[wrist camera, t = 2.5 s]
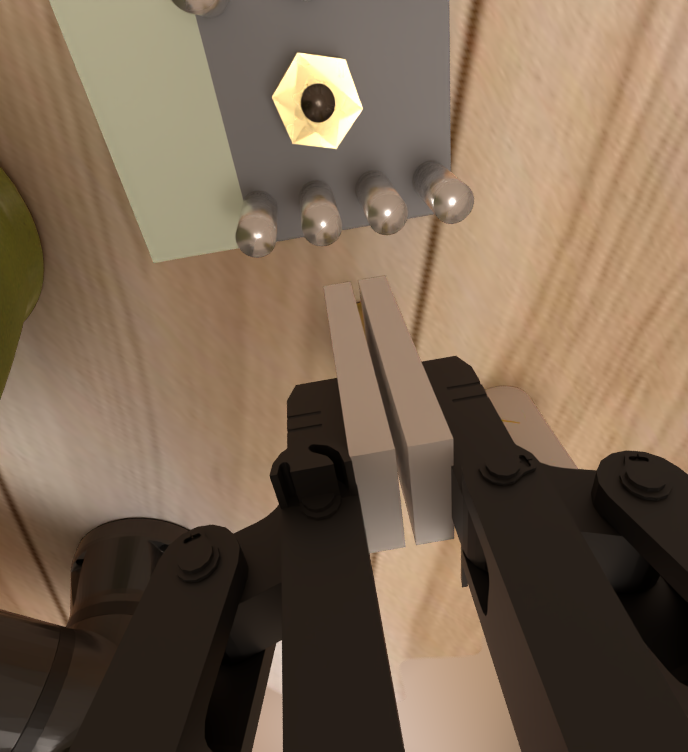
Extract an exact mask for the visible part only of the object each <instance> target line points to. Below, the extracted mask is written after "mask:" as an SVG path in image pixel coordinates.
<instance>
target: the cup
mask: <svg viewBox="0 0 688 752" xmlns="http://www.w3.org/2000/svg"><path fill="white" fill-rule="evenodd" d="M485 391H486V393H487V397H489V398H490V400H491V402H492V404H493V406H494V407H495V409H496V411H497V413H498V414H499V416H500V418H501V420H502V422H503V423H504V425H505V427H506V429H507V430H508V432H509V434H510V436H511V438H512V439H513V441H514V443H515V444H516V445H518V446H520V447H522V448H524V449H526V450H527V451H529V452H531V453H532V454H533V455H534V456H535V457H536V458H537V459H538V460H539V462H541V463H544V464H547V465H550V466H555V467H561V468H571V469H578V468H577V466H576V465H575V463H574V462H573V460H572V459H571V457H570V456H569V454H568V453H567V451H566V450H565V448H564V447H563V445H562V444H561V443H560V441H559V440H558V438H557V437H556V435H555V434H554V432H553V431H552V429H551V428H550V426H549V425H548V423H547V422H546V420H545V419H544V417H543V416H542V414H541V413H540V411H539V410H538V408H537V407H536V406H535V404H534V403H533V401H532V400H531V398H530V397H529V395H528V394H527V393H526V392H524V391H523V390H521V389H519V388H516V387H512V386H498V387H493V388H489V389H486V390H485Z"/></svg>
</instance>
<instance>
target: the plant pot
mask: <svg viewBox="0 0 688 752" xmlns="http://www.w3.org/2000/svg"><path fill="white" fill-rule="evenodd" d="M43 273H44V266H43V252H42V248H41V244H40V239H39V235H38V232H37V229H36V226H35V224H34V221H33V219H32V216H31V214H30V212H29V210H28V208H27V206H26V204H25V202H24V201H23V199H22V197H21V196H20V194H19V192H18V190H17V189H16V187H15V185H14V184H13V183H12V181H11V180H10V179H9V177H8V176H7V175H6V174H5V172H4V171H3V170H2V169H1V167H0V399H1V396H2V393H3V390H4V387H5V384H6V381H7V378H8V375H9V372H10V369H11V366H12V363H13V360H14V356H15V353H16V349H17V345H18V342H19V338H20V334H21V330H22V326H23V322H24V321H25V320H26V319H27V317H28V316H29V315H30V313H31V312H32V310H33V309H34V307H35V305H36V303H37V301H38V298H39V296H40V293H41V289H42V284H43Z"/></svg>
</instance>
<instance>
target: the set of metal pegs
mask: <svg viewBox="0 0 688 752" xmlns="http://www.w3.org/2000/svg"><path fill="white" fill-rule="evenodd" d="M171 1H172V2H173V3H174V4H175V5H176V6H177V7H178V8H180V9H181V10H183V11H185V12H187V13H191V14H196V15H200V16H205V17H217V16H219V15H221V14H222V13H223V12H224V11H225V9H226V8H227V6H228V3H229V0H171ZM304 1H310V0H304ZM413 187H414V189H415V191H416V192H417V193H418V194H419V196H420V197H421V198H422V199H423V200H424V202H425V203H426V204H427V205H428V206H429V208H430V209H431V210H432V211H433V212H434V214H435V215H436V216H437V217H438V218H439V219H440V220H441V221H442V222H444V223H448V224H454V223H458V222H460V221H462V220H464V219H465V218H466V217H467V216H468V215H469V213H470V212H471V210H472V208H473V204H474V196H473V193H472V191H471V189H470V188H469V187H468V186H467V185H466V184H465V183H463V182H462V181H461V180H460V179H458V178H457V177H456V176H455V175H454V174H452V173H451V172H450V171H449V170H448V169H446V168H445V167H444V166H443V165H442V164H440V163H439V162H437V161H426V162H424V163H422V164H421V165H420V166H419V167H418V168H417V169H416V171H415V172H414V175H413ZM356 194H357V197H358V199H359V201H360V204H361V206H362V208H363V210H364V213H365V215H366V217H367V219H368V222H369V224H370V226H371V227H372V229H373V230H374V231H375V232H377V233H379V234H382V235H391V234H394V233H396V232H398V231H399V230H400V229H401V228H402V227H403V226H404V225H405V223H406V221H407V217H408V209H407V206H406V204H405V202H404V201H403V199H402V198H401V196H400V195H399V194H398V192H397V191H396V189H395V188H394V187H393V185H392V184H391V182H390V181H389V180H388V178H387V177H386V176H385V175H384V174H383V173H381V172H379V171H369V172H367V173H365V174H363V175H362V176H361V177H360V179H359V180H358V182H357V185H356ZM299 201H300V212H301V224H302V231H303V234H304V236H305V238H306V239H307V240H308V241H309V242H310V243H312V244H314V245H316V246H327V245H330V244H332V243H334V242H335V241H336V240H337V239H338V237H339V236H340V234H341V231H342V222H341V218H340V215H339V212H338V208H337V205H336V202H335V198H334V195H333V192H332V190H331V188H330V187H329V186H328V185H327V184H326V183H324V182H321V181H312V182H309V183H307V184H306V185H305V186H304V187H303V188H302V190H301V192H300V196H299ZM277 211H278V210H277V204H276V201H275V200H274V198H273V197H272V196H271V195H270V194H268V193H266V192H264V191H254V192H252V193H250V194H248V195H247V196H246V198H245V199H244V202H243V206H242V210H241V214H240V218H239V222H238V226H237V230H236V235H235V238H236V243H237V245H238V247H239V248H240V250H241V251H242V252H243V253H245V254H246V255H248V256H251V257H256V258H259V257H264V256H266V255H268V254H269V253H270V252H272V250H273V249H274V247H275V244H276V234H277Z"/></svg>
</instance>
